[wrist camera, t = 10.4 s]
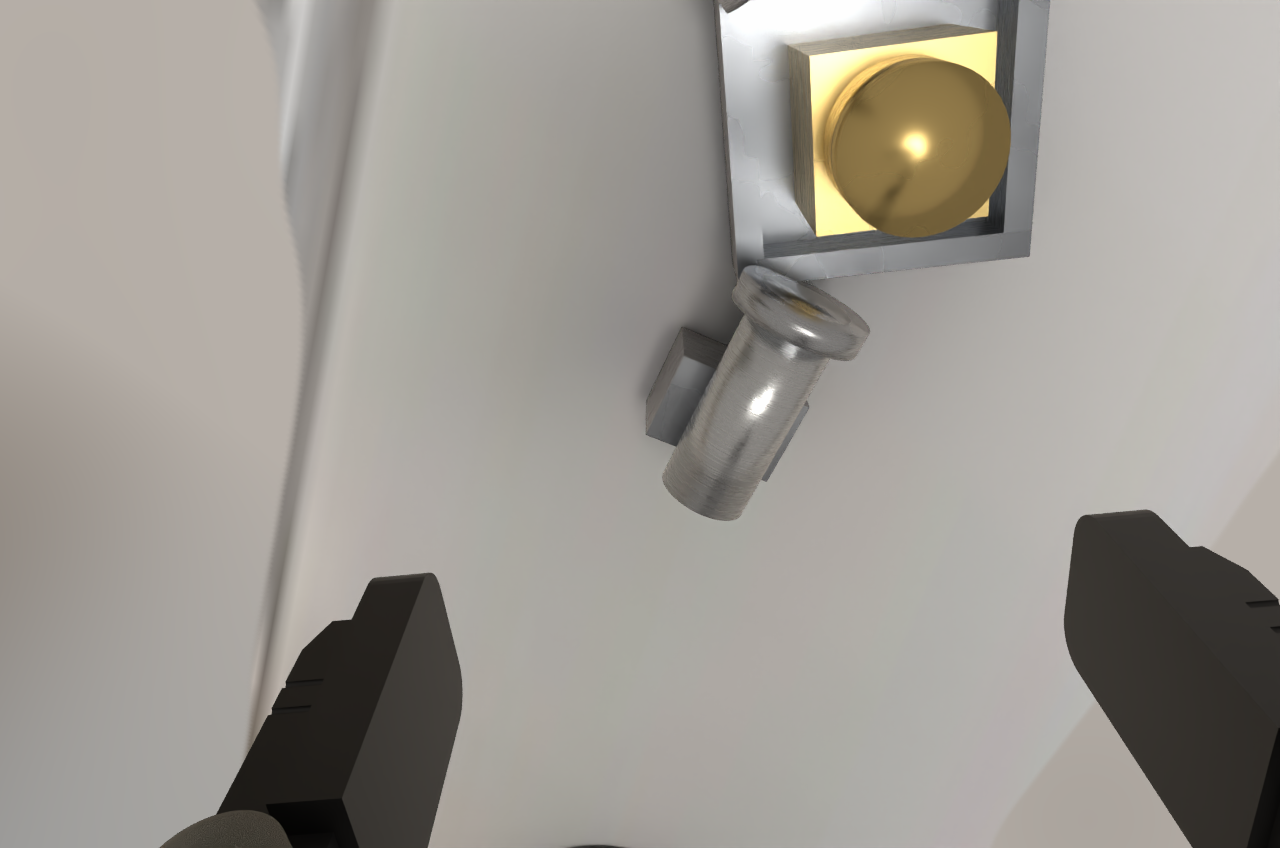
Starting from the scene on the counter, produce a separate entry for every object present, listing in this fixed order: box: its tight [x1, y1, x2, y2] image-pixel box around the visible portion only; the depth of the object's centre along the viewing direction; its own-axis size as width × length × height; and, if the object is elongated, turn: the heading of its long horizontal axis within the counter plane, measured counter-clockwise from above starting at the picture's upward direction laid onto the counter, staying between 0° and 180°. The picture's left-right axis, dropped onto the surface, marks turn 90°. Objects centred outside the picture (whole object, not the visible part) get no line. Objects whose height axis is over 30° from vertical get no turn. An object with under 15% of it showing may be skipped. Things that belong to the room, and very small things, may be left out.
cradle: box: [714, 0, 1050, 282], centre depth 26 cm, size 9×9×2 cm
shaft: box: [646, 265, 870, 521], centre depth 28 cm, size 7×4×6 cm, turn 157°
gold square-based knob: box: [788, 23, 1011, 238], centre depth 24 cm, size 4×4×6 cm
